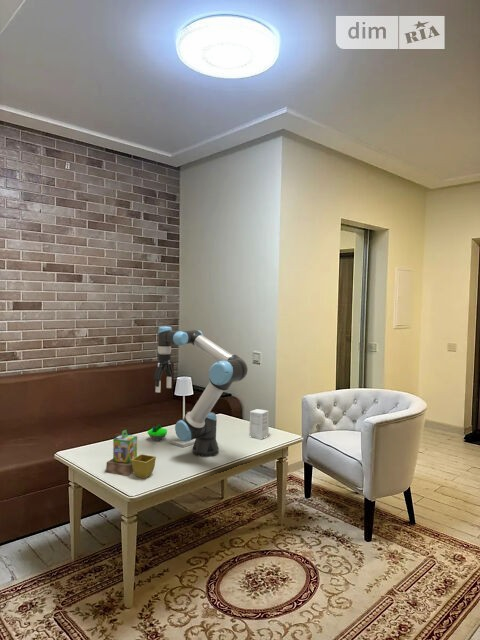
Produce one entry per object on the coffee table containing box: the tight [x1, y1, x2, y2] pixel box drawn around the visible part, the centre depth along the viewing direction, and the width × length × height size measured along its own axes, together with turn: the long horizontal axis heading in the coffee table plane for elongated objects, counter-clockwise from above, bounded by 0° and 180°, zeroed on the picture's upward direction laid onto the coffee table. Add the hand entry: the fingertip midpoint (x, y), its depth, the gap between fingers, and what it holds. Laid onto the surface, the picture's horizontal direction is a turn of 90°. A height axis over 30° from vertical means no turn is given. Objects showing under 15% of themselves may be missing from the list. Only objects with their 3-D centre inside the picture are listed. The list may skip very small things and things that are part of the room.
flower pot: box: [132, 453, 157, 479], centre depth 218 cm, size 9×9×9 cm
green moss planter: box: [147, 423, 168, 441], centre depth 274 cm, size 12×12×11 cm
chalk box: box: [112, 429, 138, 463], centre depth 225 cm, size 9×9×15 cm
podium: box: [105, 458, 135, 477], centre depth 226 cm, size 13×13×5 cm
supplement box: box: [248, 408, 270, 440], centre depth 286 cm, size 10×9×17 cm
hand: (163, 390), depth 255 cm, fingers open, 13 cm apart
